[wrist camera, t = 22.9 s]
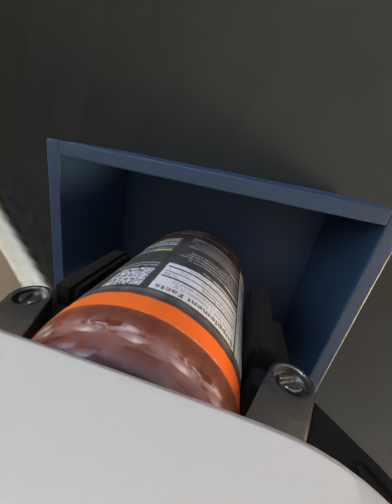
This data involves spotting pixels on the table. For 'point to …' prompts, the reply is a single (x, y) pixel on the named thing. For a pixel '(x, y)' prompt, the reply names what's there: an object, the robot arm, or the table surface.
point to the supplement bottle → (164, 319)
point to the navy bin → (227, 234)
